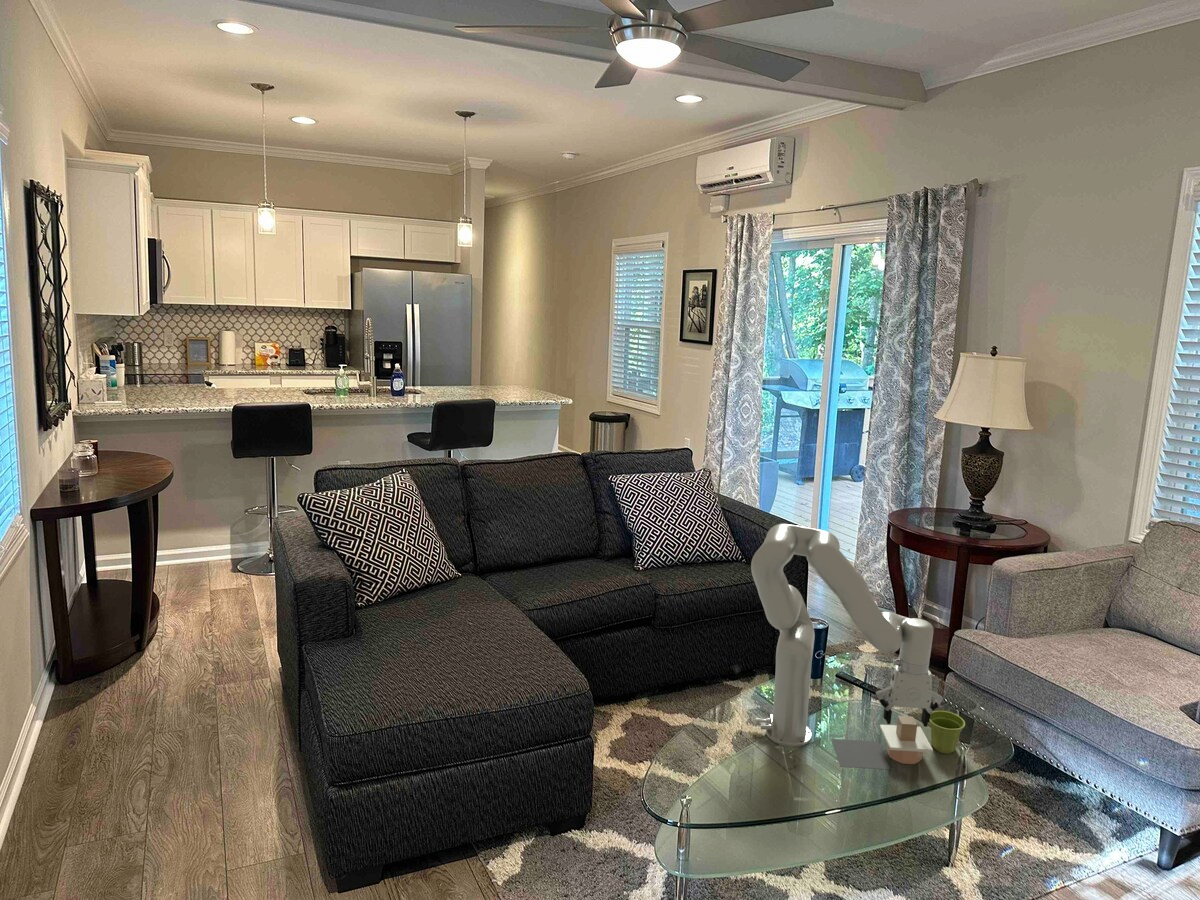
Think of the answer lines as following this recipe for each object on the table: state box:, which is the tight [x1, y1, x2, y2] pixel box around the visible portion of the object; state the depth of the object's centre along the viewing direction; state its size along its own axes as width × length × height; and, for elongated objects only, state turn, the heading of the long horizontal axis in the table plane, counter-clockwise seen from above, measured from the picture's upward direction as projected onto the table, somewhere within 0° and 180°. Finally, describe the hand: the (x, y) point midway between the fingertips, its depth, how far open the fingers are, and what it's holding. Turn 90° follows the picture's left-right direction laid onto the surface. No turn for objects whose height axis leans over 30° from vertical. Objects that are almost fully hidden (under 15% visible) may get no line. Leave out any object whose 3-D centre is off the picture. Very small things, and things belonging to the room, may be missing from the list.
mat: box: [830, 738, 891, 771], centre depth 229 cm, size 13×13×1 cm
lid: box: [879, 715, 934, 753], centre depth 227 cm, size 11×11×6 cm
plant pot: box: [929, 710, 966, 755], centre depth 232 cm, size 9×9×9 cm
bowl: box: [885, 744, 924, 765], centre depth 228 cm, size 9×9×5 cm
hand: (905, 722), depth 227 cm, fingers open, 9 cm apart
